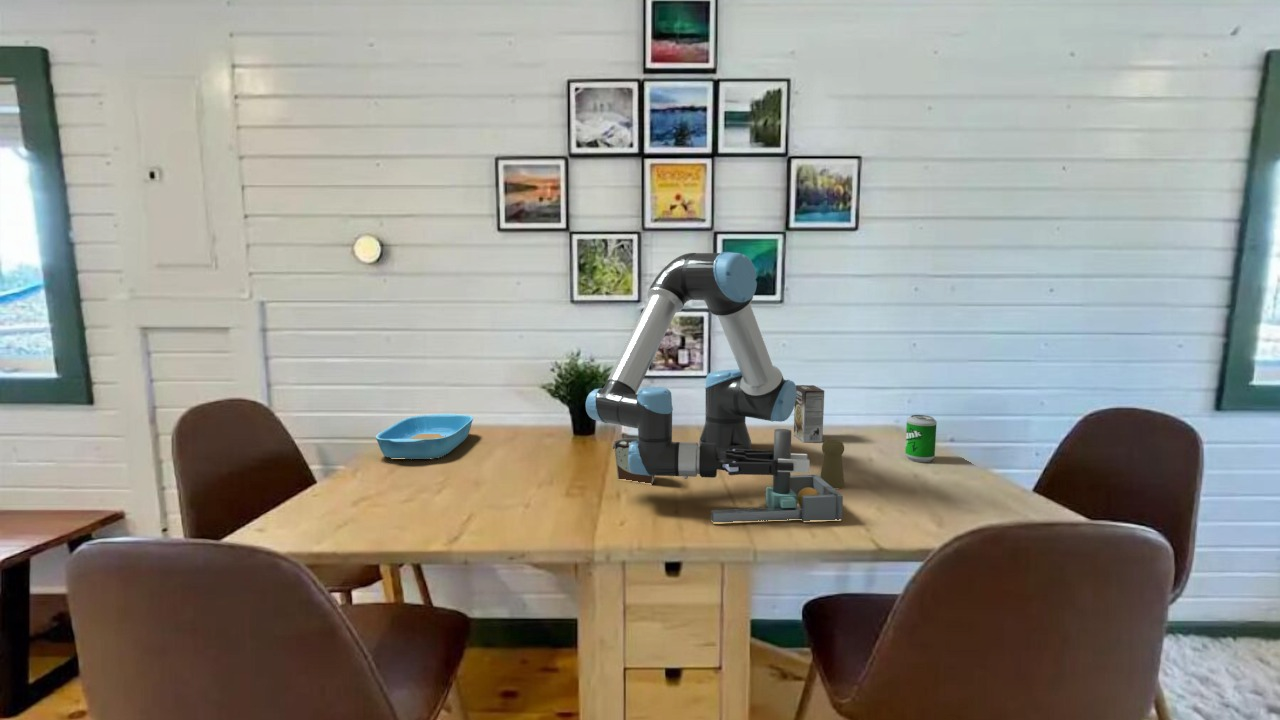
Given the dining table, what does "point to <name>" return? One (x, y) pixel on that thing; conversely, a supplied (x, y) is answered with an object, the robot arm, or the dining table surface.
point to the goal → (817, 498)
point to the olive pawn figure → (833, 463)
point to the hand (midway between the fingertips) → (807, 463)
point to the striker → (781, 474)
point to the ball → (806, 492)
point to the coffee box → (809, 413)
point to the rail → (756, 514)
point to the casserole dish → (398, 435)
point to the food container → (622, 462)
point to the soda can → (920, 438)
